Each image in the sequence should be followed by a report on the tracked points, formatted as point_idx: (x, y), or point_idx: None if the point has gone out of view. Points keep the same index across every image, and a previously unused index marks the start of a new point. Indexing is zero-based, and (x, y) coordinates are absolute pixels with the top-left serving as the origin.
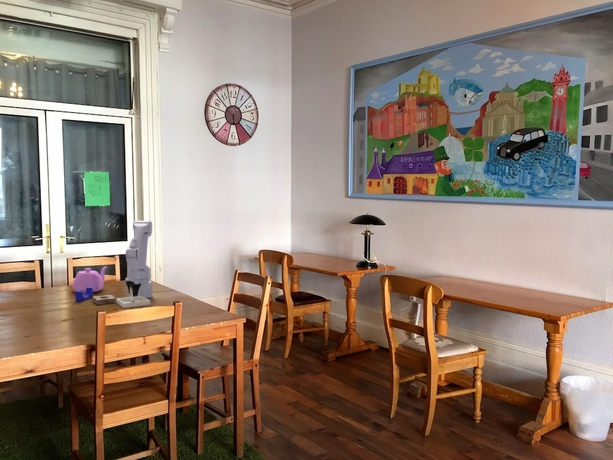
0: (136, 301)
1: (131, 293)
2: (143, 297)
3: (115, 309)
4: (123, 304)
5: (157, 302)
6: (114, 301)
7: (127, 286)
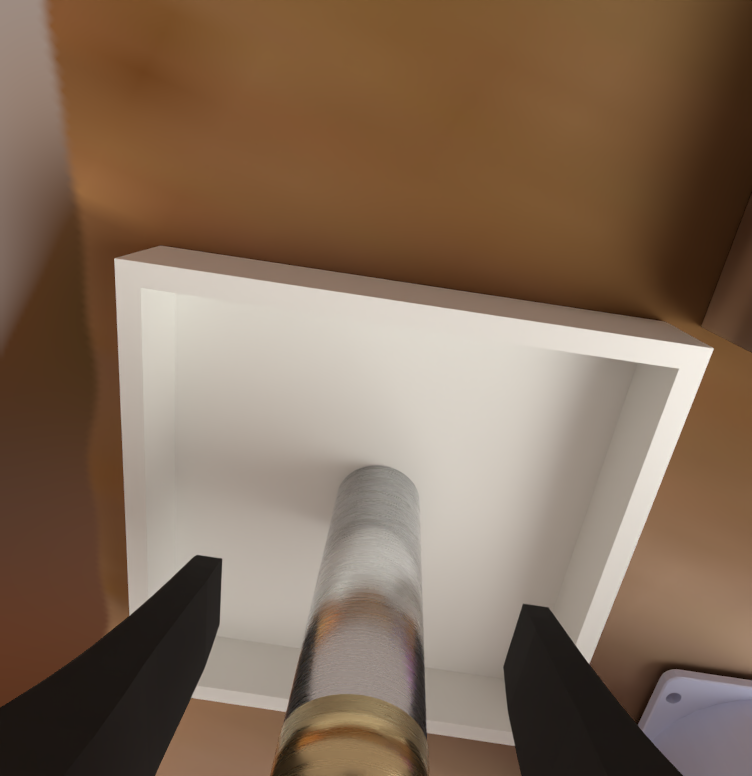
0: (460, 588)
1: (323, 607)
2: (428, 717)
3: (130, 59)
4: (139, 256)
5: (276, 745)
6: (728, 302)
7: (644, 773)
